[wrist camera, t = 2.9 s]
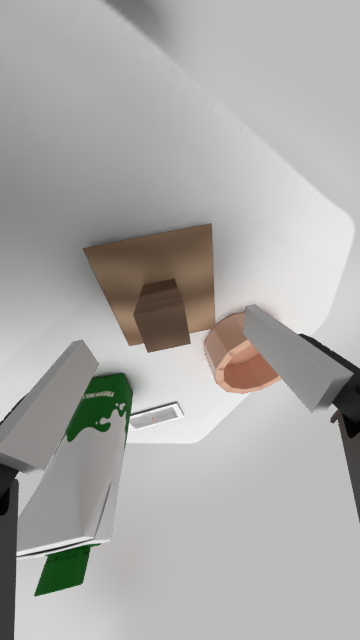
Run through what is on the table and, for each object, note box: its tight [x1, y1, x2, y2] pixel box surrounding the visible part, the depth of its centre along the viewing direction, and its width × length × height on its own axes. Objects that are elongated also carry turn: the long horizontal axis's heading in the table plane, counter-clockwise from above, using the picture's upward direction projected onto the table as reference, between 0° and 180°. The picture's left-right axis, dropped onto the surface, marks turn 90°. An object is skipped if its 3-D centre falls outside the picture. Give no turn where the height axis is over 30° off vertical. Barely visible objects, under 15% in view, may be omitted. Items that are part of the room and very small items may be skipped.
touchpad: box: [128, 403, 184, 432], centre depth 37 cm, size 8×15×2 cm, turn 105°
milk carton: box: [16, 373, 133, 596], centre depth 21 cm, size 9×9×20 cm
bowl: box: [205, 312, 282, 394], centre depth 25 cm, size 13×13×6 cm
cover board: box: [83, 224, 215, 353], centre depth 16 cm, size 14×14×9 cm
